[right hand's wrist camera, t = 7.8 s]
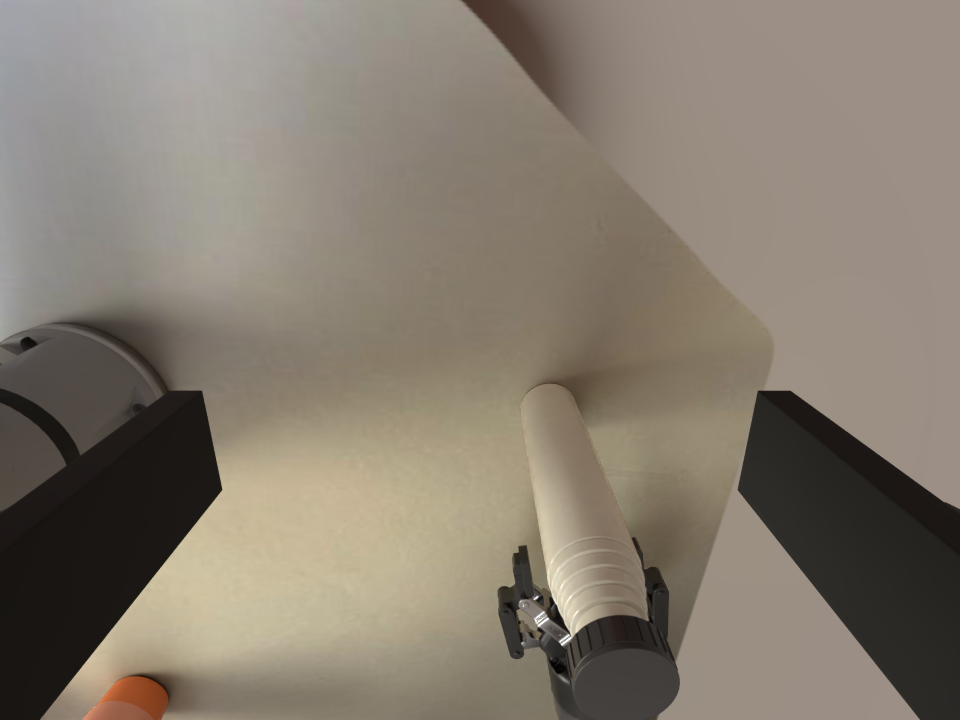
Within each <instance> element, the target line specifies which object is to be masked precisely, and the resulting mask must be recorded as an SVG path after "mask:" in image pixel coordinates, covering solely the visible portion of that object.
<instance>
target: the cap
mask: <svg viewBox="0 0 960 720" xmlns="http://www.w3.org/2000/svg"><path fill="white" fill-rule="evenodd" d="M566 658H567V662H566V664H567V669H568V675H569V681H570V687H571V688H572V689H573V695H574V698H575V701H576V703H577V705H578V706H579V707H580V708H581V710H582V711H584V712H585V713H586V714H587V715H589V716H590V717H592V718H594V719H596V720H647V719H650V718H652V717H654V716H656V715H658V714H660V713H661V712H663V711H664V710H665V709H666V708H667V707H668V706H669V705H670V704H671V703H672V702H673V701H674V699H675V697H676V696H677V693H678V690H679V685H680V678H679V674H678V669H677V666H676V664H675V660H674V657H673V655H672V652H671V650H670V647H669V645H668V642H667V640H666V637H665V635H664V636H663V634H662V633H661V631H660V630H659V628H658V627H656V626H654V625H653V624H652V623H650V622H649V621H647V620H644V619H642V618H639V617H636V616H630V615H612V616H607V617H602V618H599V619H596V620H594V621H592V622H590V623H588V624H587V625H585V626H584V627H582V628H581V629H580V630H579V631H578V632H577V633H575V635H574V636H573V638H572V640H571V641H570V643H569V646H568V650H567V652H566Z"/></svg>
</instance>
